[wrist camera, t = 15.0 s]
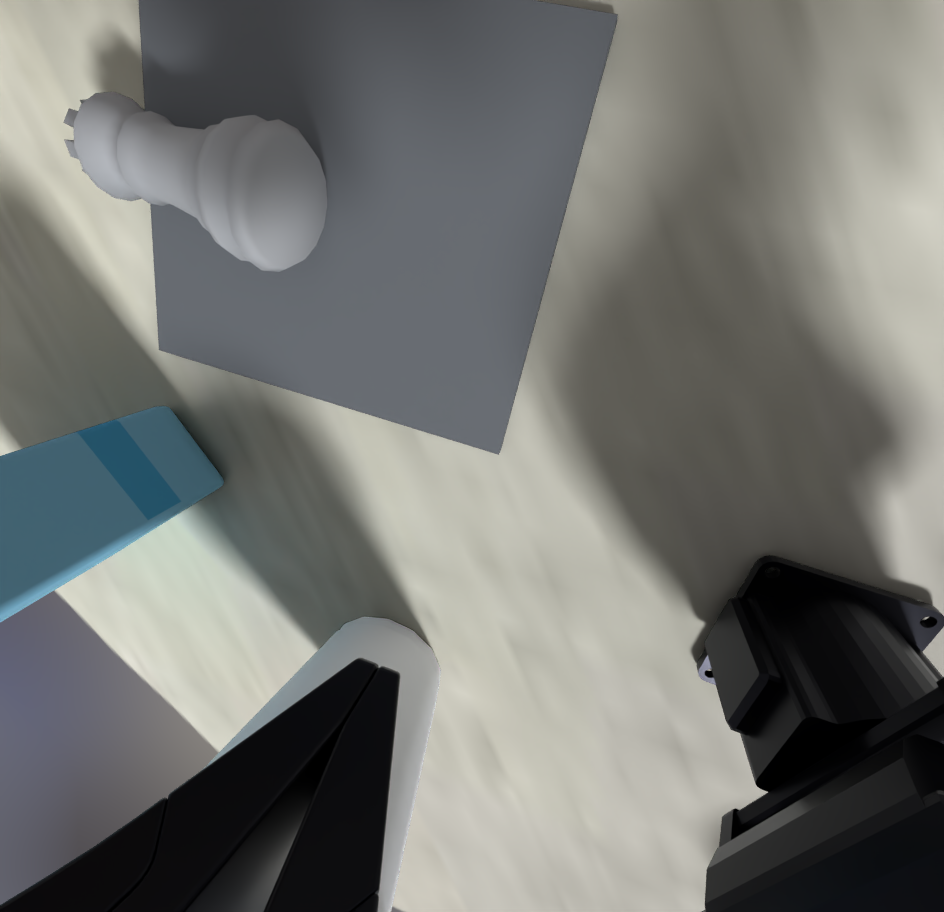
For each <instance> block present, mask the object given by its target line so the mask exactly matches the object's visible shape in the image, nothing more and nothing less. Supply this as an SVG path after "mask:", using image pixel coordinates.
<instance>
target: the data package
mask: <svg viewBox="0 0 944 912" xmlns="http://www.w3.org/2000/svg"><path fill="white" fill-rule="evenodd" d="M223 484H224V480H223V478H222V477H221V475H220V474H219V473H218V471H217V470H216V469H215V467H214V466H213V465H212V463H211V462H210V461H209V459H208V458H207V457H206V455H205V454H204V453H203V451H202V450H201V449H200V447H199V446H198V445H197V443H196V442H195V441H194V439H193V438H192V437H191V435H190V434H189V433H188V431H187V430H186V429H185V427H184V426H183V425H182V423H181V422H180V421H179V419H178V418H177V417H176V415H175V414H174V413H173V411H172V410H171V409H170V408H169V407H166V406H158V407H153V408H150V409H146V410H143V411H140V412H137V413H134V414H131V415H128V416H124V417H121V418H118V419H115V420H112V421H109V422H106V423H102V424H99V425H96V426H93V427H90V428H87V429H84V430H81V431H77V432H74V433H71V434H68V435H65V436H62V437H59V438H55V439H52V440H49V441H46V442H43V443H40V444H37V445H34V446H30V447H27V448H24V449H21V450H18V451H15V452H12V453H8V454H5V455H2V456H0V622H2V621H3V620H5V619H7V618H8V617H10V616H12V615H13V614H15V613H17V612H18V611H20V610H22V609H23V608H25V607H27V606H28V605H30V604H32V603H33V602H35V601H37V600H38V599H40V598H42V597H43V596H45V595H47V594H48V593H50V592H52V591H54V590H55V589H57V588H59V587H60V586H62V585H64V584H65V583H67V582H69V581H70V580H72V579H74V578H75V577H77V576H79V575H80V574H82V573H84V572H85V571H87V570H89V569H90V568H92V567H94V566H95V565H97V564H99V563H100V562H102V561H104V560H105V559H107V558H109V557H110V556H112V555H113V554H115V553H117V552H118V551H120V550H122V549H123V548H125V547H126V546H128V545H130V544H131V543H133V542H134V541H136V540H137V539H139V538H141V537H142V536H144V535H145V534H147V533H149V532H150V531H152V530H153V529H155V528H157V527H158V526H160V525H161V524H163V523H165V522H166V521H168V520H169V519H171V518H172V517H174V516H176V515H177V514H179V513H180V512H182V511H184V510H185V509H187V508H188V507H190V506H192V505H193V504H195V503H196V502H198V501H199V500H201V499H203V498H204V497H206V496H207V495H209V494H211V493H212V492H214V491H215V490H217V489H218V488H220V487H221V486H222V485H223Z"/></svg>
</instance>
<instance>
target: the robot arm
mask: <svg viewBox="0 0 944 912" xmlns="http://www.w3.org/2000/svg"><path fill="white" fill-rule="evenodd" d="M770 567H776V569H775V570H774V571H773V572H765V571H766V570H767V569H768V568H770ZM928 616H930V617H929V618H928V619H926V620H922V621H921V619H923V618H924V617H928ZM943 627H944V616H943V615H942V614H941V613H940V612H939V611H938V610H937V609H936V608H935V607H934V606H932V605H929V604H926V603H923V602H920V601H917V600H913V599H910V598H907V597H904V596H901V595H897V594H894V593H891V592H888V591H885V590H881V589H878V588H875V587H872V586H869V585H865V584H862V583H859V582H856V581H853V580H849V579H846V578H843V577H840V576H837V575H833V574H830V573H827V572H824V571H821V570H817V569H814V568H811V567H808V566H805V565H801V564H798V563H795V562H792V561H789V560H785V559H782V558H779V557H776V556H764V557H762V558H760V559H759V560H758V561H757V562H756V563H755V565H754V567H753V568H752V570H751V572H750V573H749V575H748V577H747V579H746V580H745V582H744V584H743V585H742V587H741V589H740V591H739V592H738V594H737V596H736V597H733V598H731V599H730V600H729V601H728V603H727V604H726V606H725V608H724V609H723V611H722V613H721V615H720V616H719V618H718V620H717V621H716V623H715V625H714V627H713V628H712V630H711V632H710V633H709V635H708V637H707V639H706V640H705V650H704V652H703V654H702V655H701V657H700V659H699V660H698V662H697V670H698V674H699V677H700V678H701V679H702V680H704V681H706V682H709V683H712V684H715V685H716V687H717V690H718V694H719V698H720V701H721V705H722V708H723V712H724V715H725V719H726V722H727V723H728V725H729V727H730V729H731V730H733V731H736V732H739V733H740V734H741V737H742V741H743V744H744V747H745V751H746V754H747V757H748V761H749V764H750V767H751V770H752V774H753V777H754V780H755V783H756V785H757V787H759V788H760V789H762V790H765V791H767V792H768V793H766V794H765V795H763V796H762V797H760V798H758V799H757V800H755V801H754V802H752V803H750V804H749V805H747V806H746V807H744V808H742V809H741V810H738V809H733V810H732V811H730V812H728V813H727V814H725V815H724V816H723V817H722V824H721V834H720V844H719V848H717V850H716V852H715V854H714V856H713V858H712V860H711V862H710V864H709V866H708V868H707V875H706V893H705V909H706V910H704V911H702V912H944V677H943V676H942V675H941V674H940V673H939V672H938V670H937V669H936V668H935V667H934V666H933V664H932V663H931V662H930V661H929V660H928V658H927V657H926V656H925V655H924V654H923V652H922V651H923V650H924V649H925V648H926V647H927V646H928V644H929V643H930V642H931V641H932V640H933V639H934V637H935V636H936V635H937V634H938V633H939V632H940V630H941V629H942V628H943ZM707 669H712V671H707ZM399 686H400V673H399V672H398V671H395V670H392V669H390V668H387V667H385V666H381V667H379V666H378V664H376V663H374V662H372V661H369V660H366V659H364V658H357V659H355V660H354V661H352V662H351V663H350V664H348V665H347V666H346V667H344V668H343V669H341V670H340V671H339V672H337V673H336V674H334V675H333V676H332V677H330V678H329V679H328V680H326V681H325V682H323V683H322V684H321V685H319V686H318V687H316V688H315V689H314V690H312V691H311V692H310V693H308V694H307V695H305V696H304V697H303V698H301V699H300V700H298V701H297V702H296V703H294V704H293V705H292V706H290V707H289V708H287V709H286V710H285V711H283V712H282V713H280V714H279V715H278V716H276V717H275V718H274V719H272V720H271V721H269V722H268V723H267V724H265V725H264V726H262V727H261V728H260V729H258V730H257V731H256V732H254V733H253V734H251V735H250V736H249V737H247V738H246V739H244V740H243V741H242V742H240V743H239V744H238V745H236V746H235V747H233V748H232V749H231V750H229V751H228V752H226V753H225V754H224V755H222V756H221V757H220V758H218V759H217V760H215V761H214V762H213V763H211V764H210V765H208V766H207V767H206V768H204V769H203V770H202V771H200V772H199V773H197V774H196V775H195V776H193V777H192V778H191V779H189V780H188V781H186V782H185V783H184V784H182V785H181V786H179V787H178V788H177V789H175V790H174V791H172V792H171V793H170V794H169V796H168V800H167V798H162V799H161V800H160V801H158V802H157V803H155V804H154V805H153V806H151V807H150V808H149V809H147V810H146V811H144V812H143V813H142V814H140V815H139V816H138V817H136V818H135V819H133V820H132V821H131V822H129V823H128V824H126V825H125V826H123V827H122V828H120V829H119V830H117V831H116V832H114V833H113V834H112V835H110V836H109V837H107V838H106V839H105V840H103V841H101V842H100V843H99V844H97V845H96V846H94V847H93V848H91V849H90V850H88V851H87V852H85V853H83V854H82V855H80V856H78V857H77V858H76V859H74V860H72V861H71V862H69V863H67V864H66V865H64V866H63V867H61V868H59V869H58V870H56V871H55V872H53V873H52V874H50V875H48V876H47V877H45V878H44V879H42V880H41V881H39V882H37V883H36V884H34V885H33V886H31V887H29V888H28V889H26V890H24V891H22V892H21V893H19V894H17V895H16V896H14V897H13V898H11V899H9V900H8V901H6V902H5V903H3V904H1V905H0V912H378V904H379V896H378V893H379V890H380V881H381V870H382V860H383V850H384V840H385V829H386V819H387V809H388V799H389V788H390V778H391V768H392V758H393V747H394V737H395V727H396V717H397V706H398V696H399Z"/></svg>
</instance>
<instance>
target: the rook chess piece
mask: <svg viewBox="0 0 944 912" xmlns="http://www.w3.org/2000/svg"><path fill="white" fill-rule="evenodd" d="M80 101H81V103H82V104H81V106H80V108H79V111H76V110H73V109H69V110H68V112H67V115H66V117H65V120H64V123H66V124H67V125H69V126H71V127H74V140H65V139H64V141H65V143H66V146H67V148H68V151H69V153H70V156H71V157H74V158H77V159H79V160H80V163H81V165H82V168H83V169H82V171H84V172H85V173H87V175H88V176H89V177H90V178H91V180H92V181H93V182H94V183H95V185H96V186H97V187H98V188H100V189H101V190H103V191H105V192H106V193H108V194H109V195H111V196H112V197H114V198H118V199H123V200H128V201H134V200H138V199H141V198H142V199H143V200H145V201H146V202H148V203H151V204H156V205H161V206H164V205H168V204H171V205H173V206H175V207H177V208H179V209H181V210H183V211H184V212H186V213H188V214H190V215H192V216H193V217H195V218H197V219H198V221H199V222H200V224H201V225H202V227H203V228H205V229H206V230H207V231H209V232H210V234H211V236H212V237H213V239H214V240H215V242H216V243H218V244H219V245H220V246H221V247H223V248H224V249H225V250H227V251H228V252H230V253H231V254H232V255H234V256H235V257H237V258H238V259H239V260H241V261H249V262H251V263H252V264H254V265H255V266H256V267H258V268H259V269H260V270H262V271H274V272H280V271H283V270H285V269H287V268H289V267H291V266H293V265H295V264H297V263H299V262H301V261H303V260H305V259H306V258H307V256H308V255H309V254H310V253H311V251H312V250H313V249H314V248H315V246H316V245H317V242H318V240H319V237H320V235H321V233H322V230H323V228H324V223H325V217H326V210H327V188H326V179H325V176H324V173H323V170H322V167H321V163H320V160H319V159H318V157H317V156H316V154H315V153H314V151H313V150H312V148H311V147H310V145H309V144H308V143H307V141H306V140H305V138H304V137H303V136H302V134H301V133H300V131H299V130H298V129H297V128H295V127H293V126H291V125H289V124H287V123H285V122H283V121H281V120H279V119H277V120H272V121H266V120H264V119H262V118H260V117H258V116H256V115H248V116H241V117H235V118H228V119H224V120H223V121H222V122H221V123H220V124H216V125H210V126H208V127H207V128H206V129H205V130H203V129H195V128H186V127H177V126H175V125H174V124H172V123H171V122H170V121H169V120H168V119H167V118H166V117H164V116H162V115H159V114H157V113H154V112H152V111H147V112H146V111H145V110H144V109H143V108H141V107H140V106H139V105H138V104H137V103H136V102H135V101H134V100H133V99H131V98H128V97H126V96H123V95H121V94H118V93H116V92H104V93H95V94H94V95H93V96H91V97H90V98H89V99H85V100H80Z"/></svg>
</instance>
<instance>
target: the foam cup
mask: <svg viewBox="0 0 944 912" xmlns="http://www.w3.org/2000/svg"><path fill="white" fill-rule="evenodd" d="M357 658H364V659H366V660H369V661H372V662H374V663H376V664H378V666H379V667H381V666H385V667H387V668H390V669H392V670H395V671H398V672H399V673H400V686H399V696H398V706H397V717H396V727H395V737H394V747H393V758H392V768H391V778H390V788H389V799H388V809H387V819H386V829H385V840H384V850H383V860H382V870H381V881H380V890H379V893H378V896H379V904H378V912H391V909H392V904H393V900H394V895H395V890H396V886H397V881H398V877H399V872H400V867H401V863H402V858H403V854H404V849H405V844H406V840H407V835H408V830H409V826H410V821H411V817H412V812H413V807H414V803H415V798H416V794H417V789H418V784H419V780H420V775H421V770H422V766H423V761H424V757H425V752H426V747H427V743H428V738H429V733H430V729H431V724H432V720H433V715H434V710H435V706H436V701H437V694H438V690H439V683H440V675H441V669H440V667H439V664H438V662H437V660H436V657H435V655H434V653H433V650H432V649H431V648H430V647H429V646H428V645H427V644H426V643H425V642H424V641H423V640H422V639H421V638H420V637H419V636H418V635H417V634H416V633H415V632H414V631H413V630H411V629H409V628H407V627H405V626H403V625H401V624H399V623H396V622H394V621H392V620H390V619H386V618H375V617H364V616H363V617H361V618H358V619H356V620H353V621H350V622H348V623H345V624H344V625H343V626H342V628H341V629H340V630H338V631H336V632H335V633H334V634H333V635H332V636H331V638H330V639H329V640H328V641H327V642H326V643H325V644H324V645H323V646H322V647H321V648H320V649H319V650H318V651H317V652H316V653H315V654H314V655H313V656H312V657H311V658H310V659H309V660H308V661H307V662H306V663H305V664H304V665H303V666H302V668H301V669H300V670H299V671H298V672H297V673H296V674H295V675H294V676H293V677H292V678H291V679H290V680H289V681H288V682H287V683H286V684H285V685H284V686H283V687H282V688H281V689H280V690H279V691H278V692H277V693H276V694H275V695H274V696H273V697H272V699H271V700H270V701H269V702H268V703H267V704H266V705H265V706H264V707H263V708H262V709H261V710H260V711H259V712H258V713H257V714H256V715H255V716H254V717H253V718H252V719H251V720H250V721H249V722H248V723H247V724H246V725H245V726H244V727H243V729H242V730H241V731H240V732H239V733H238V734H237V735H236V736H235V737H234V738H233V739H232V740H231V741H230V742H229V743H228V744H227V745H226V746H225V747H224V748H223V749H222V750H221V751H220V752H219V753H218V754H217V755H216V756H215V758H214V759H213V760H212V761H211V762H210V763H209V764H208V765H210V764H211V763H213V762H214V761H215V760H217V759H218V758H220V757H221V756H222V755H224V754H225V753H226V752H228V751H229V750H231V749H232V748H233V747H235V746H236V745H238V744H239V743H240V742H242V741H243V740H244V739H246V738H247V737H249V736H250V735H251V734H253V733H254V732H256V731H257V730H258V729H260V728H261V727H262V726H264V725H265V724H267V723H268V722H269V721H271V720H272V719H274V718H275V717H276V716H278V715H279V714H280V713H282V712H283V711H285V710H286V709H287V708H289V707H290V706H292V705H293V704H294V703H296V702H297V701H298V700H300V699H301V698H303V697H304V696H305V695H307V694H308V693H310V692H311V691H312V690H314V689H315V688H316V687H318V686H319V685H321V684H322V683H323V682H325V681H326V680H328V679H329V678H330V677H332V676H333V675H334V674H336V673H337V672H339V671H340V670H341V669H343V668H344V667H346V666H347V665H348V664H350V663H351V662H352V661H354V660H355V659H357ZM208 765H207V766H208ZM207 766H206V767H207ZM206 767H205V768H206Z"/></svg>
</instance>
